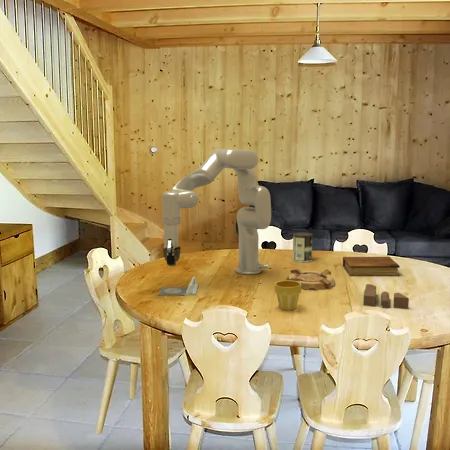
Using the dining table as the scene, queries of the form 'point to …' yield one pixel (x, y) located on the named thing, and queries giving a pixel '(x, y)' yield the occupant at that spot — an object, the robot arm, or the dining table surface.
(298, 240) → the coffee can
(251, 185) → the robot arm
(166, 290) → the rest pad
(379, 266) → the diary
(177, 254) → the ornate metal lamp shade
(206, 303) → the dining table surface
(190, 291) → the low wall
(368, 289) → the wooden block set
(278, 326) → the dining table surface
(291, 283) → the plant pot
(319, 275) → the ashtray
